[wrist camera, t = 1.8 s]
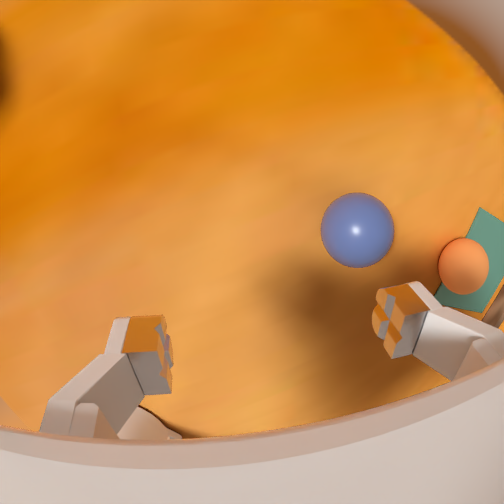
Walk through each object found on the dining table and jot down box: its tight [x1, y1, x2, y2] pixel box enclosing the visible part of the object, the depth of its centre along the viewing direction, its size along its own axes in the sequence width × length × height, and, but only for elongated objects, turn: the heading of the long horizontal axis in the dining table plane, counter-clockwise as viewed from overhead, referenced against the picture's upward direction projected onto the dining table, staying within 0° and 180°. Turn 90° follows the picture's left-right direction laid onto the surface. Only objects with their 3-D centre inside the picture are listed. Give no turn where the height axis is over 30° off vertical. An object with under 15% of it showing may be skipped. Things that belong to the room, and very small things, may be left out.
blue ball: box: [321, 193, 394, 268], centre depth 23 cm, size 6×6×6 cm
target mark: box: [434, 208, 504, 313], centre depth 32 cm, size 12×12×1 cm
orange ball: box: [438, 238, 489, 295], centre depth 27 cm, size 6×6×6 cm
